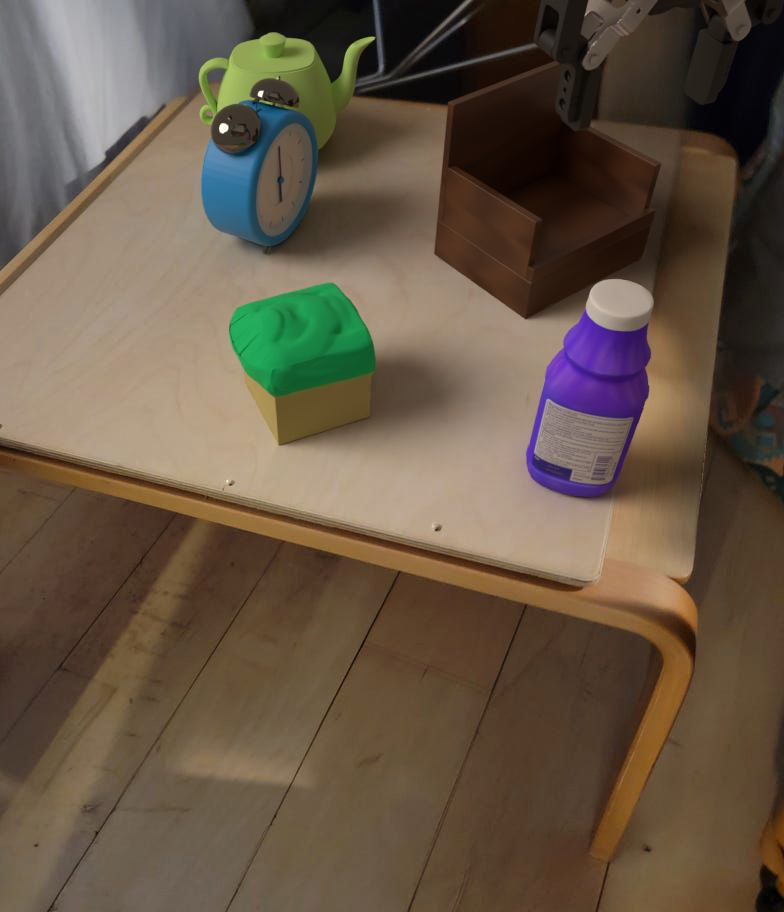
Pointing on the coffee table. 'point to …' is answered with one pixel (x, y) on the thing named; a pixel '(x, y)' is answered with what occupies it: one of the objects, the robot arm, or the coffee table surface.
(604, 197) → the box
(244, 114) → the alarm clock
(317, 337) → the cake
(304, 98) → the teapot
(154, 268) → the coffee table surface
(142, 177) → the coffee table surface
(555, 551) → the coffee table surface
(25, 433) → the coffee table surface
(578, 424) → the bottle
